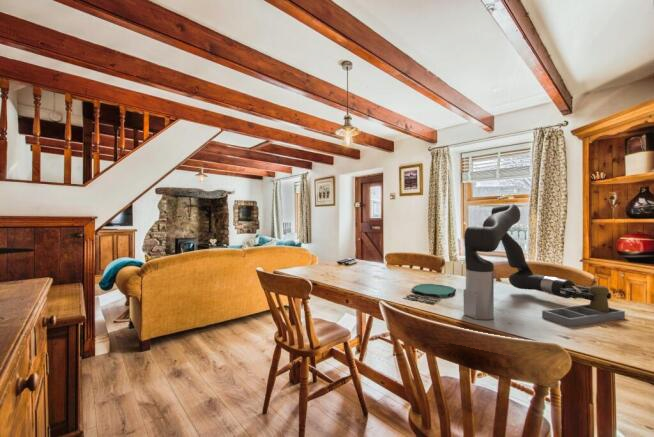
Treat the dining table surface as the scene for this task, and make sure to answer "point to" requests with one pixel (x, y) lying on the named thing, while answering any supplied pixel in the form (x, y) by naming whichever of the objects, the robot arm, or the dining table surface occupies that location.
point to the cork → (599, 298)
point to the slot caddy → (581, 315)
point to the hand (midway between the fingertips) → (602, 297)
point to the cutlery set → (431, 292)
